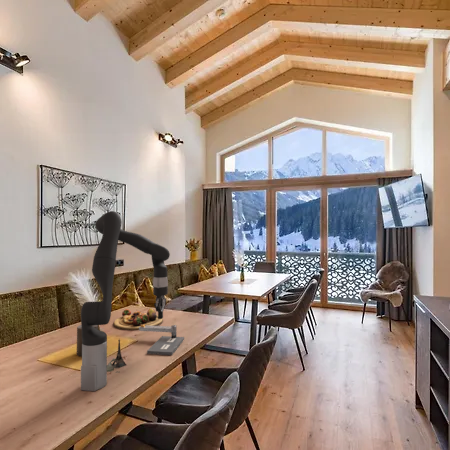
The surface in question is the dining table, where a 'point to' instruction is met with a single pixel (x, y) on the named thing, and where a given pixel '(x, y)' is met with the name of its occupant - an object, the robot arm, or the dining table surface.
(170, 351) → the label board
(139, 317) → the wooden plate with food
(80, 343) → the pillar candle
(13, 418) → the dining table surface
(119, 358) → the eiffel tower figurine
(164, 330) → the swing arm
